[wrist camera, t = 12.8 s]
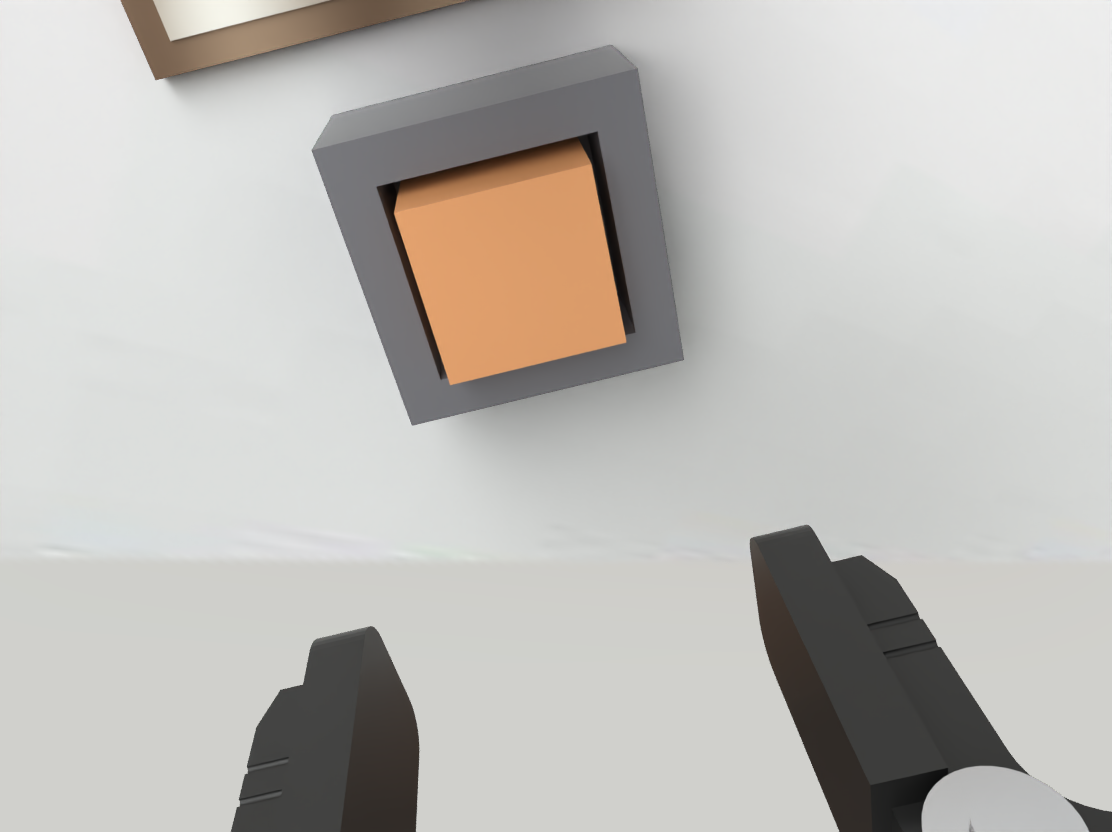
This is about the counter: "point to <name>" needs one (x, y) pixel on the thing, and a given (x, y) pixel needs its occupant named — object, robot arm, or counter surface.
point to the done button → (511, 260)
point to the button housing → (481, 133)
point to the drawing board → (248, 26)
